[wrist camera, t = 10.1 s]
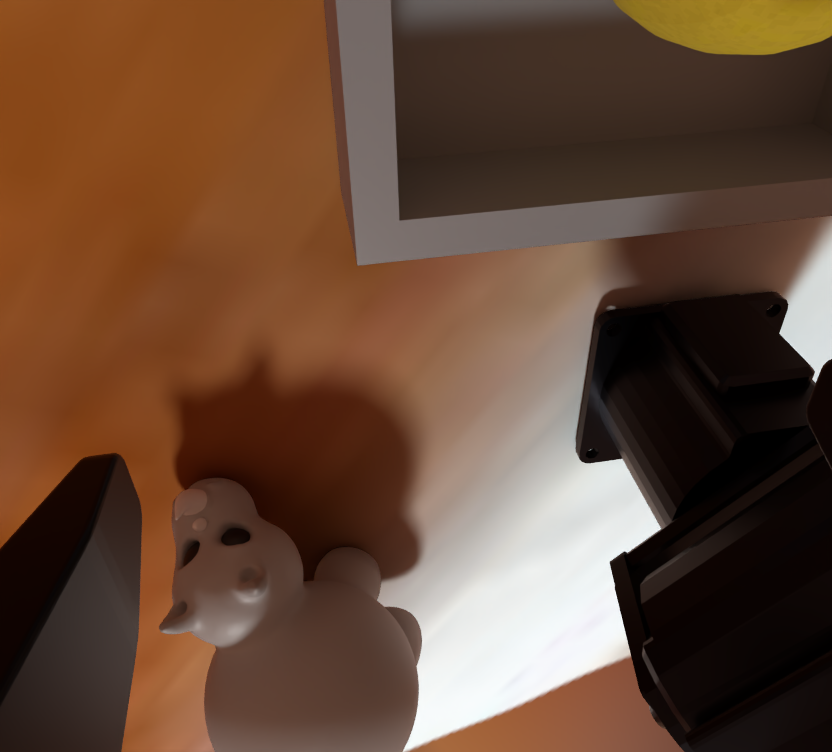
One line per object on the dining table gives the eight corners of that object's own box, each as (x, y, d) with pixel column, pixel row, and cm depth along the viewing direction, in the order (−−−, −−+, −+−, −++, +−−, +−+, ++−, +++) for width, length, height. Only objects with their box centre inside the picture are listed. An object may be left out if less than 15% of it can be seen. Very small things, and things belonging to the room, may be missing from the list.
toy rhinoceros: (306, 393, 27) (266, 498, 19) (445, 638, 30) (461, 817, 22) (140, 472, 28) (33, 606, 20) (293, 703, 31) (255, 898, 23)
